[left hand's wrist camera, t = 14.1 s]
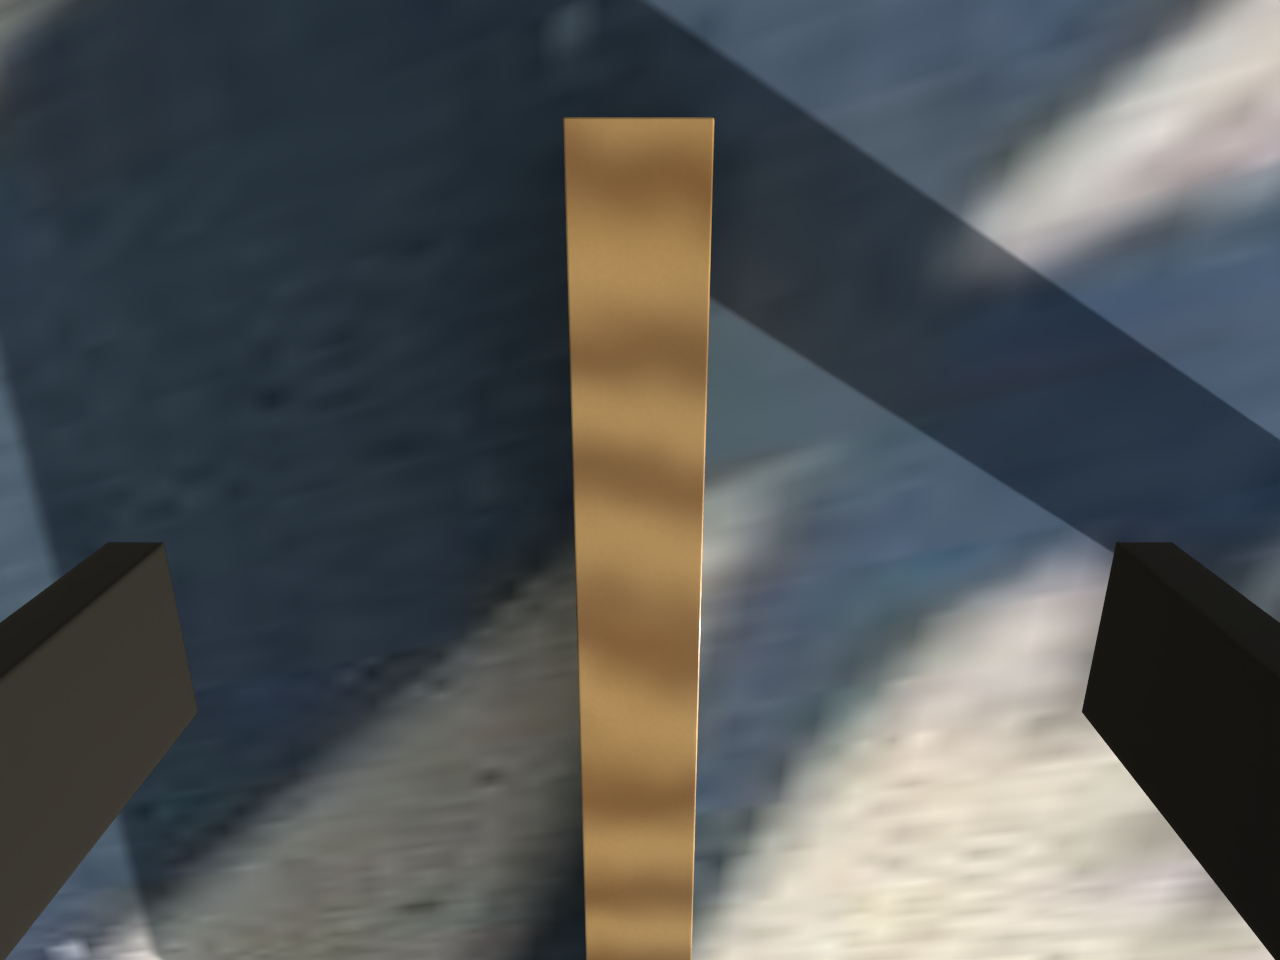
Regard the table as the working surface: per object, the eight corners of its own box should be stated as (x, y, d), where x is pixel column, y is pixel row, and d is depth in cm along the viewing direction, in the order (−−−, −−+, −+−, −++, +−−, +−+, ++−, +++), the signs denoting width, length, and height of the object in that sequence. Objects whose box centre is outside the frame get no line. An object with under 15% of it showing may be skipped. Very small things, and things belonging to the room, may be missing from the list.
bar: (579, 122, 37) (562, 117, 30) (698, 122, 37) (714, 117, 30) (601, 1140, 59) (595, 1293, 52) (676, 1140, 59) (682, 1293, 52)
